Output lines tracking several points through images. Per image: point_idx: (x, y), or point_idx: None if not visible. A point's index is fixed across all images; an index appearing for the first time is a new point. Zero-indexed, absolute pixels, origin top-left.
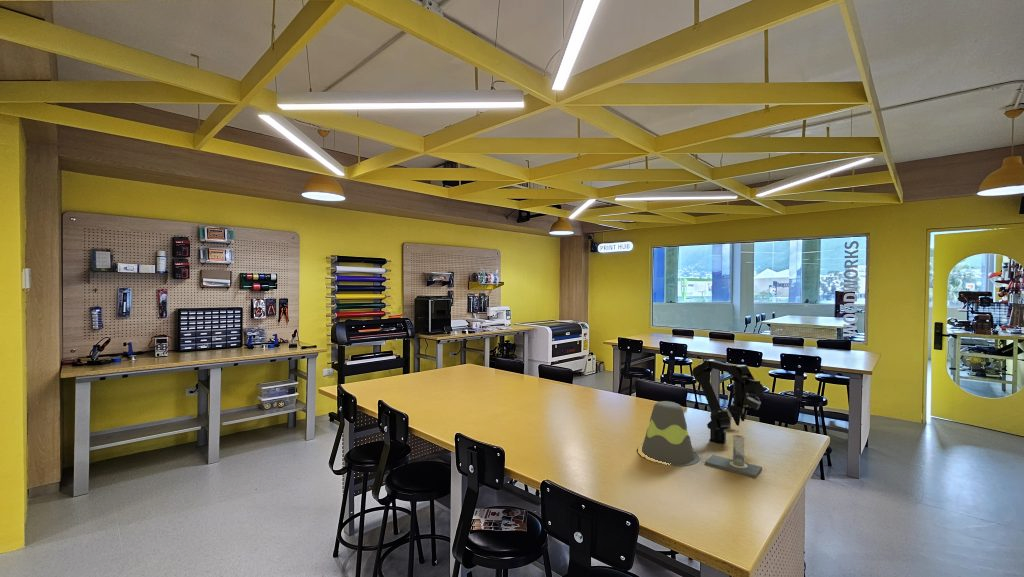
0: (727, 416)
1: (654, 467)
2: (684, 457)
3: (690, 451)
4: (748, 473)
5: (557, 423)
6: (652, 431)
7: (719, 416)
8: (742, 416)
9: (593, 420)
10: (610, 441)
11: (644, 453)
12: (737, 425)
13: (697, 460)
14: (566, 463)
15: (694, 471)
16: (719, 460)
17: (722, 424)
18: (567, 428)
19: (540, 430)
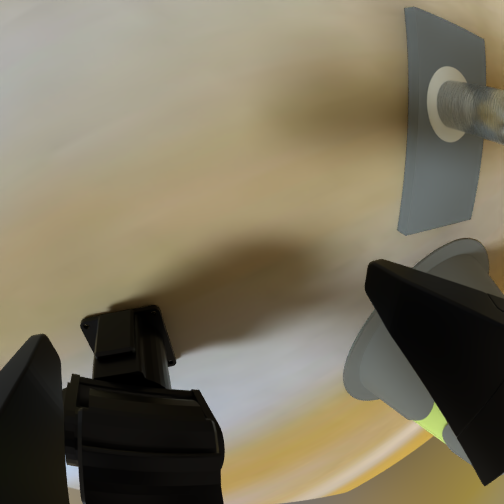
0: (103, 473)
1: (497, 282)
2: (483, 269)
3: (475, 279)
4: (484, 62)
5: (341, 482)
6: None
7: (213, 485)
8: (40, 420)
9: (280, 497)
10: (394, 419)
11: None
12: (374, 274)
13: (449, 247)
14: None
15: (501, 210)
16: (448, 184)
17: (185, 413)
18: (358, 468)
19: (387, 459)
